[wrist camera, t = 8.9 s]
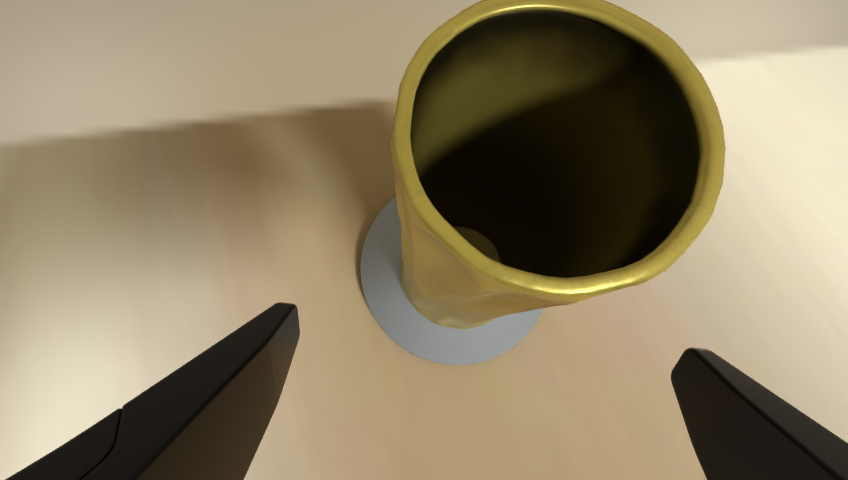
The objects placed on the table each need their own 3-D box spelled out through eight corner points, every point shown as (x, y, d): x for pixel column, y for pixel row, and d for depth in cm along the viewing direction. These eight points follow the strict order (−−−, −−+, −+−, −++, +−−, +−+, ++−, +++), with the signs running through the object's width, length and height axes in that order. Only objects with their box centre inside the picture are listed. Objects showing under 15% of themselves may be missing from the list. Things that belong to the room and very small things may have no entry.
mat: (425, 403, 19) (425, 406, 18) (328, 237, 20) (325, 235, 20) (583, 297, 20) (588, 296, 19) (479, 150, 22) (481, 146, 21)
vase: (413, 340, 19) (402, 376, 5) (390, 225, 20) (330, -7, 6) (529, 315, 19) (832, 279, 5) (499, 203, 20) (675, -60, 7)
